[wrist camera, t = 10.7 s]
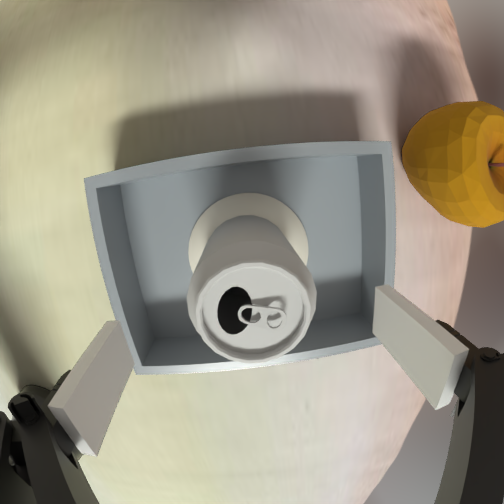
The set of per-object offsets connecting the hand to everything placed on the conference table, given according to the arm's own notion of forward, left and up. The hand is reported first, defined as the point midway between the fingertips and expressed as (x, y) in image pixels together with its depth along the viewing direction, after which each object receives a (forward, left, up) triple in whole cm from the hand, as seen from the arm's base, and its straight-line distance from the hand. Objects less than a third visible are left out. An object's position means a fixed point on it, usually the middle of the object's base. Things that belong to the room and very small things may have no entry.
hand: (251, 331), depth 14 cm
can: (0, 0, -13) cm, 13 cm away
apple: (+20, +8, -15) cm, 26 cm away
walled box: (0, 0, -14) cm, 14 cm away
